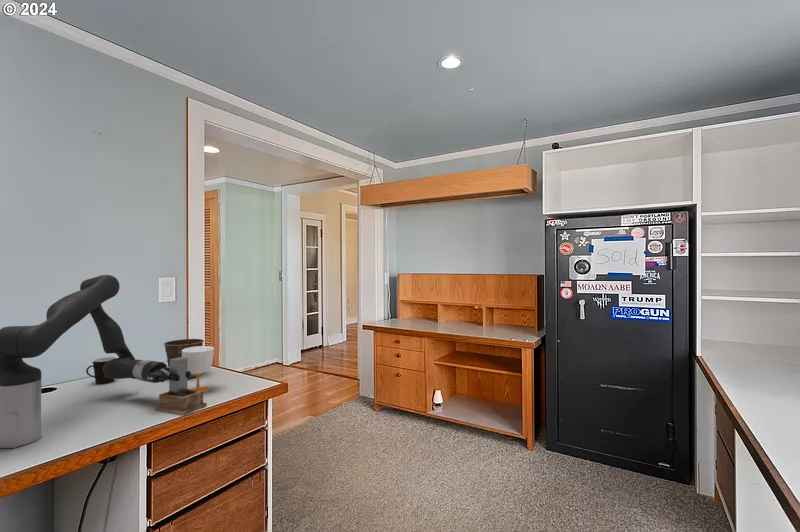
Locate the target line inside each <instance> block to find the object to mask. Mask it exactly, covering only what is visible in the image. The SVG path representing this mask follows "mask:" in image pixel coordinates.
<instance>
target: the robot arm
mask: <svg viewBox="0 0 800 532" xmlns="http://www.w3.org/2000/svg"><path fill="white" fill-rule="evenodd" d="M119 291H120V281H119V280H118V279H117V278H116V277H115V276H114V275H110V274H103V275H102V274H101V275H98V276H94V277H92V278H87V279H84V280H83V281H82V282H81V283H80V286H79V290H78V291H75V292H71V293H69V294H67V295H65V296H63V297H61V298H60V299H58V300H57V301H55V302H54V303H52V304H51V305H50V306H49V307H48V309H47V311H46V314H45V315H46V320H45V321H43V322H41V323H39V324H36V325H11V326H10V325H9V326H4V327H1V328H0V449H15V448H17V447H20V446H25V445H29V444H31V443H35V442H36V441H38V440H39V439H40V438H42V370H41V369H40V368H38V367H35V366H32V365H29V364H28V363H27V362H25V361H24V359H30V358H31V359H32V358H37V357H39V356H41V355H43V354H44V353H45V352H46V351H47V350H49V349H50V348H51V347H52V346H53V345H54V344H55V343H56V342H57V340H58V339H60V337H62V335H64V334H65V333H66V332H67V331H69V330H70V329H72V327H73V326H75V325H76V324H77V323H78V324H79V322H81V321H82V320H83V319H84V318H86V317H87V316H88V315H89V314H90V316H91V318H92V319H93V320H92V321H93V323H94V324H95V326H96V328H97V331H98V335H99V338H100V342H101V345H102V348H103V353H105V354H116V356H117V357H116V359H112V360H110V361H108V362H106V363H105V364H104V366H103V373H104V374H105V376H107V377H108V378H111V379H114V380H122V379H133V380H134V379H135V380H139V381H141V382H148V383H153V384H158V383H164V382H169V381H170V380H172V381H179V380H180V375H178V374H171V373H169V368H170V367H168V364H166V363H165V362H164V361H163V362H162V361H156V360H143V359H136V358H135V356H134V355H133V353H132V352H131V351H130V349H129V348H128V346H127V344H126V341H125V337H124V334H123V330H122V328H121V326H120V325H119V324H118V322H116V321H115V319H113V318H112V317H111V316H110V315H109V314H108V313H106V312H105V310H104V308H103V306H102V304H103V303H104V302H107V301H109V300H110V299H112V298H114V297H116V295H117V294H118V293H119ZM189 377H191V372H190V371H187V378H189ZM191 378H192V377H191Z"/></svg>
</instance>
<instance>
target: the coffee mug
mask: <svg viewBox="0 0 800 532" xmlns="http://www.w3.org/2000/svg"><path fill="white" fill-rule="evenodd" d="M116 358H117V357H116V356H115V357H114V356H107V357H100V358H96V359H93V360H92V365H89V366H88V367H87V368H86V370H85V372H86V375H87V376H89V377H91V378H94V380H95V381H94V382H95V385H99V386H100V385H108V384H112V383H114V382H115V379H111V378H108V377H107V376H105V374H104V373H103V366H104V364H105V363H106V362H108V361H110V360H112V359H116ZM92 367H93V374H94V375H93V374H90V373H89V369H90V368H92Z"/></svg>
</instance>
